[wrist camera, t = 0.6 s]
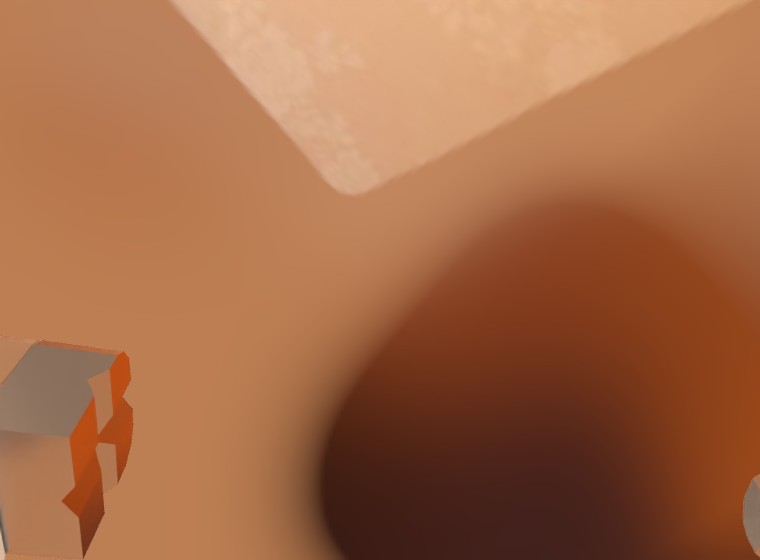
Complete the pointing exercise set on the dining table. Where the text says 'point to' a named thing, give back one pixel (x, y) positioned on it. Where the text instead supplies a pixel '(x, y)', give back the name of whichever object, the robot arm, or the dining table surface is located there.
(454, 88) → the dining table surface
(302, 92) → the dining table surface
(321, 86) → the dining table surface
